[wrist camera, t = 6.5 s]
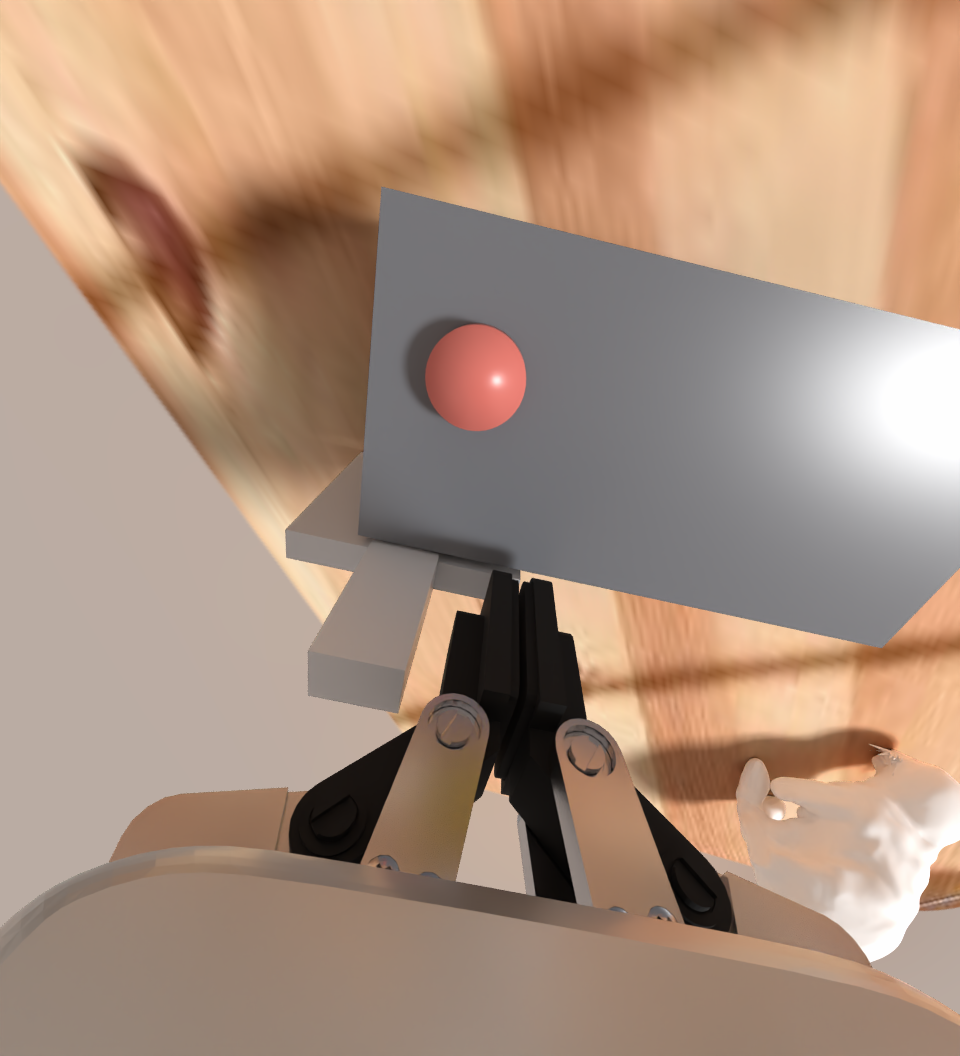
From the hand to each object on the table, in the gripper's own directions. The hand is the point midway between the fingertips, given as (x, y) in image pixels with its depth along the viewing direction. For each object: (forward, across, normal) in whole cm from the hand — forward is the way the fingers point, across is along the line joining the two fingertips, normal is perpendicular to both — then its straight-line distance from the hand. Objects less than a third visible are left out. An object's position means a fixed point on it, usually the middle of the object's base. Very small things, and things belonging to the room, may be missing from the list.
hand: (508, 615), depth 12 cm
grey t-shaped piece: (+8, +3, 0) cm, 8 cm away
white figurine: (+8, -23, +14) cm, 28 cm away
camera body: (+8, -5, -5) cm, 10 cm away
